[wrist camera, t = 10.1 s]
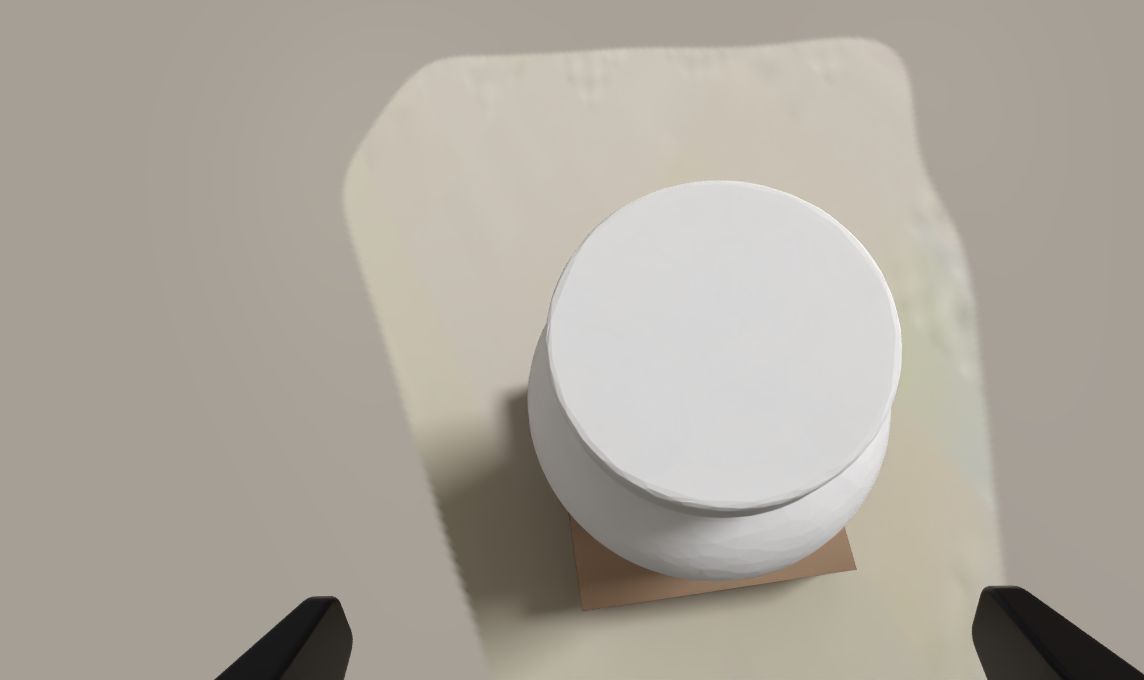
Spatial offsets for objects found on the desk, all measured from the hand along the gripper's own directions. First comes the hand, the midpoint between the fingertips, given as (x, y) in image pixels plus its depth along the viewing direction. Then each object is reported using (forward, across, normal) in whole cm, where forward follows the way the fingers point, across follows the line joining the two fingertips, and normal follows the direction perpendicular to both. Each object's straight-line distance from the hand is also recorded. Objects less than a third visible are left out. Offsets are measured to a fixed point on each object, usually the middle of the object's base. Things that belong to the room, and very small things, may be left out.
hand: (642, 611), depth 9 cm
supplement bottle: (+10, -1, +6) cm, 12 cm away
